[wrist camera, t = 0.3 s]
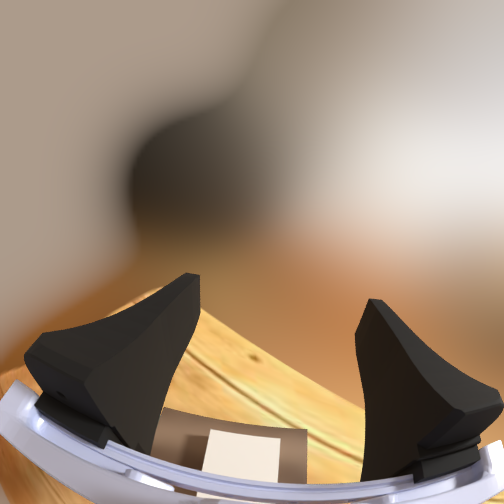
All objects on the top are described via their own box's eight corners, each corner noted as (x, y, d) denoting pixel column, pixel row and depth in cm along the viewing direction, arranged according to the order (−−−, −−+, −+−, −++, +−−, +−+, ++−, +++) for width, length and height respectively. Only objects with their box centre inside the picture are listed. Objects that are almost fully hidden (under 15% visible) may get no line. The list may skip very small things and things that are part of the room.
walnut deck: (294, 538, 13) (303, 539, 11) (139, 514, 13) (130, 512, 12) (299, 439, 23) (307, 429, 22) (167, 418, 24) (163, 406, 22)
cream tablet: (269, 520, 13) (274, 520, 12) (195, 511, 13) (193, 510, 12) (275, 445, 20) (280, 438, 19) (210, 436, 20) (210, 429, 19)
